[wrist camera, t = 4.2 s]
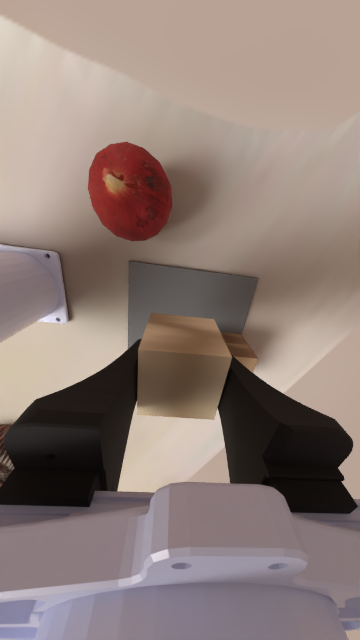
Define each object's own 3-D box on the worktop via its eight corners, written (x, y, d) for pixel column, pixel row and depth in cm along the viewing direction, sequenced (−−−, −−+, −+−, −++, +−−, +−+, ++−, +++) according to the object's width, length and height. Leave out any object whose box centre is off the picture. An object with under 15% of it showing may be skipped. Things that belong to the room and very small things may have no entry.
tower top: (188, 381, 22) (189, 397, 19) (196, 339, 19) (199, 353, 17) (234, 384, 22) (241, 401, 20) (248, 345, 20) (258, 358, 17)
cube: (148, 364, 14) (137, 414, 10) (151, 313, 12) (138, 349, 8) (203, 368, 14) (214, 419, 10) (214, 319, 12) (232, 357, 8)
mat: (128, 366, 24) (127, 368, 24) (129, 261, 18) (128, 261, 18) (226, 374, 25) (227, 376, 25) (256, 278, 19) (258, 278, 19)
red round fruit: (168, 165, 15) (163, 95, 8) (174, 238, 18) (175, 236, 10) (102, 171, 15) (35, 107, 8) (117, 243, 18) (77, 245, 10)
